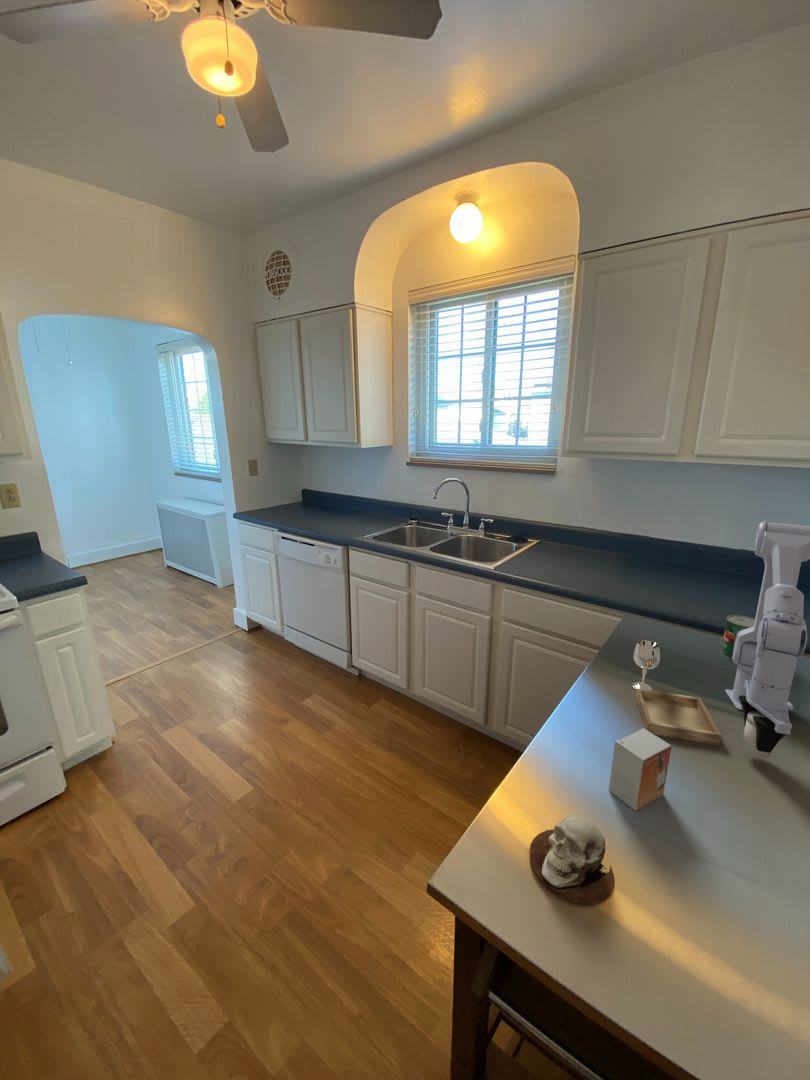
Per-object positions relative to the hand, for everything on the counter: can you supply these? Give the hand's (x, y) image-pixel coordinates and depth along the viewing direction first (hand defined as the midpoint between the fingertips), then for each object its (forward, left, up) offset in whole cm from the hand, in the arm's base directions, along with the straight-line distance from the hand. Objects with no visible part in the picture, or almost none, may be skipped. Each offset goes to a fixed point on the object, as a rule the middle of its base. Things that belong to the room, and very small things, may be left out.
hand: (757, 741), depth 87 cm
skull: (+36, +34, -4) cm, 50 cm away
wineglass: (+16, -21, -4) cm, 27 cm away
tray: (+12, -9, -4) cm, 15 cm away
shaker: (0, 0, -2) cm, 2 cm away
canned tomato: (-13, -46, -4) cm, 48 cm away
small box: (+24, +16, -4) cm, 29 cm away
